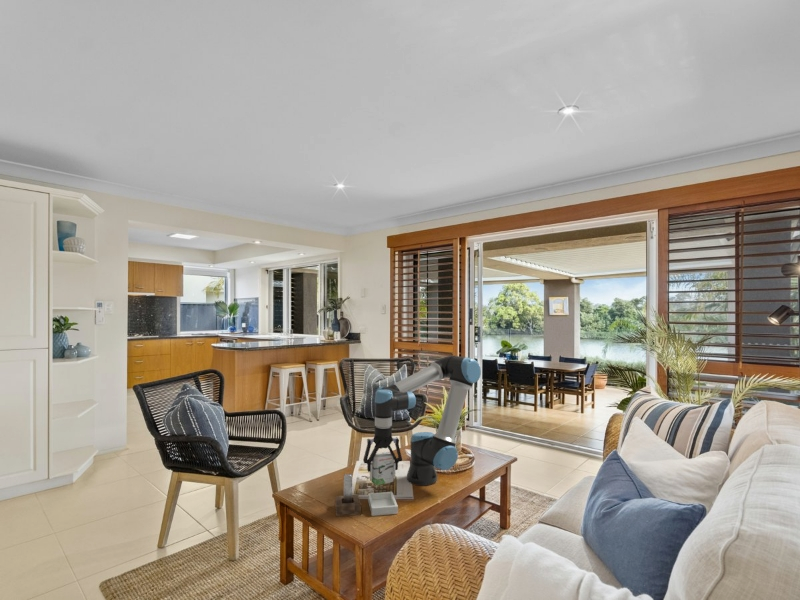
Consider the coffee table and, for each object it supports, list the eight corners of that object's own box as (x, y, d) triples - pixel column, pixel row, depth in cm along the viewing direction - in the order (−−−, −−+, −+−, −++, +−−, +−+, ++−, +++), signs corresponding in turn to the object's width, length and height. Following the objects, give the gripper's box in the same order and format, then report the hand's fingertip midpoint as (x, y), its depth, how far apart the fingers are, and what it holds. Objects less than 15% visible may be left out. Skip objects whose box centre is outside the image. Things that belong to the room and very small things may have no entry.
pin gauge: (351, 506, 182) (351, 473, 183) (352, 510, 179) (352, 476, 179) (343, 506, 182) (343, 474, 182) (343, 510, 178) (344, 477, 178)
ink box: (376, 486, 179) (377, 458, 179) (371, 481, 183) (371, 454, 183) (394, 481, 184) (394, 454, 184) (388, 477, 188) (388, 450, 188)
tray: (392, 498, 191) (392, 491, 191) (397, 513, 177) (398, 506, 177) (367, 500, 189) (367, 493, 189) (371, 515, 175) (371, 508, 175)
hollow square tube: (358, 503, 186) (358, 494, 186) (360, 514, 176) (360, 504, 176) (335, 505, 184) (335, 496, 184) (336, 516, 174) (336, 506, 174)
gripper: (406, 422, 189) (405, 473, 189) (357, 424, 185) (356, 476, 185) (409, 427, 182) (409, 479, 182) (358, 429, 178) (357, 483, 177)
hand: (382, 478), depth 183 cm, fingers closed on ink box, 9 cm apart
